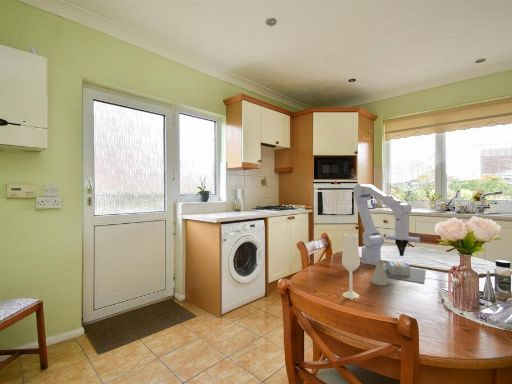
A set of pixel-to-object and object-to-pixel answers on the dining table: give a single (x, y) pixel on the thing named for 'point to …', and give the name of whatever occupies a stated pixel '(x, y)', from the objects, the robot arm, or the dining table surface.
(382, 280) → the flask
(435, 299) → the dining table surface
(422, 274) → the mat
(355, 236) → the champagne flute
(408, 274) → the medicine box
